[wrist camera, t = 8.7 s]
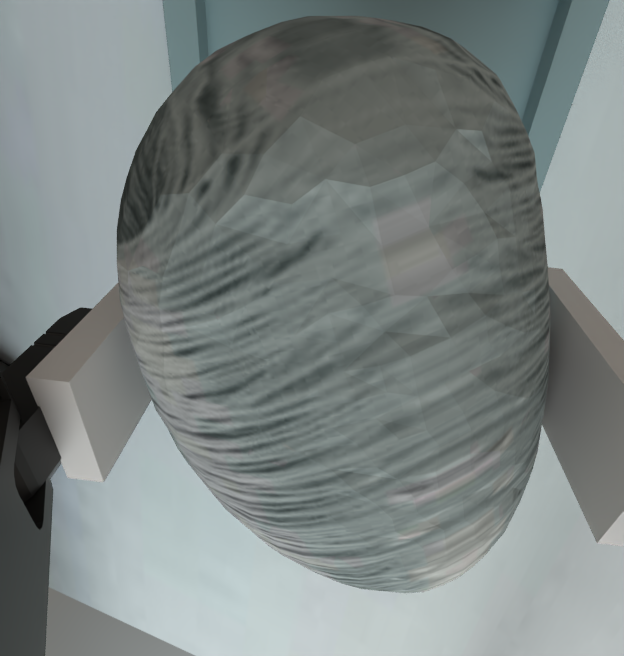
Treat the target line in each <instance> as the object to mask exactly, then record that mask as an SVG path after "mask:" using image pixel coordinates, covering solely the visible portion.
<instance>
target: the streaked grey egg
mask: <svg viewBox="0 0 624 656" xmlns="http://www.w3.org/2000/svg"><path fill="white" fill-rule="evenodd" d="M117 269H118V281H119V293H120V302H121V307H122V311H123V316H124V320H125V324H126V328H127V331H128V334H129V337H130V340H131V343H132V346H133V349H134V352H135V355H136V358H137V361H138V364H139V367H140V369H141V372H142V375H143V378H144V380H145V383H146V386H147V388H148V391H149V393H150V396H151V398H152V401H153V403H154V406H155V409H156V411H157V412H158V414H159V416H160V417H161V419H162V420H163V422H164V423H165V425H166V426H167V428H168V430H169V432H170V434H171V436H172V438H173V440H174V442H175V444H176V446H177V448H178V449H179V451H180V452H181V454H182V455H183V457H184V458H185V460H186V461H187V463H188V464H189V465H190V466H191V468H192V469H193V470H194V471H195V472H196V474H197V475H198V476H199V477H200V479H201V480H202V481H203V482H204V484H205V485H206V486H207V487H208V488H209V490H210V491H211V492H212V493H213V495H214V496H215V497H216V498H217V499H218V501H219V502H220V503H221V504H222V505H223V507H224V508H225V509H226V510H227V511H228V512H230V513H231V514H232V515H233V516H234V517H236V518H237V519H238V520H239V521H240V522H241V523H243V524H244V525H245V526H246V527H247V528H248V529H250V530H251V531H252V532H253V533H254V534H255V535H257V536H258V537H259V538H260V539H261V540H262V541H264V542H265V543H266V544H267V545H268V546H270V547H271V548H273V549H274V550H276V551H277V552H279V553H280V554H282V555H283V556H285V557H287V558H289V559H291V560H293V561H294V562H296V563H298V564H300V565H302V566H304V567H306V568H308V569H310V570H312V571H313V572H315V573H317V574H320V575H322V576H325V577H327V578H330V579H332V580H335V581H337V582H340V583H342V584H346V585H350V586H353V587H357V588H361V589H368V590H378V591H389V592H399V593H416V592H425V591H428V590H431V589H434V588H436V587H439V586H442V585H444V584H446V583H448V582H451V581H453V580H455V579H457V578H458V577H460V576H461V575H463V574H464V573H465V572H467V571H468V570H469V569H471V568H472V567H473V566H474V565H475V564H476V563H477V562H478V561H480V560H481V559H482V558H483V557H484V556H485V555H486V554H487V553H488V551H489V550H490V549H491V547H492V546H493V545H494V544H495V543H496V541H497V540H498V539H499V538H500V537H501V536H502V534H503V533H504V532H505V530H506V528H507V526H508V524H509V522H510V520H511V518H512V516H513V514H514V512H515V510H516V508H517V506H518V505H519V503H520V500H521V498H522V495H523V493H524V490H525V488H526V485H527V483H528V480H529V477H530V475H531V472H532V469H533V466H534V462H535V458H536V455H537V451H538V444H539V438H540V432H541V426H542V421H543V416H544V410H545V403H546V396H547V388H548V378H549V352H550V299H549V280H548V266H547V255H546V245H545V235H544V222H543V209H542V204H541V198H540V193H539V187H538V182H537V173H536V162H535V153H534V150H533V147H532V145H531V142H530V139H529V137H528V134H527V131H526V129H525V127H524V125H523V123H522V121H521V119H520V117H519V114H518V112H517V110H516V108H515V106H514V104H513V102H512V101H511V99H510V97H509V95H508V93H507V91H506V90H505V88H504V86H503V84H502V82H501V80H500V79H499V77H498V76H497V75H496V73H494V72H493V71H492V70H491V69H490V68H488V67H487V66H486V65H485V64H484V63H482V62H481V61H480V60H479V59H477V58H476V57H475V56H474V55H473V54H471V53H470V52H469V51H468V50H467V49H465V48H464V47H463V46H461V45H460V44H458V43H457V42H455V41H454V40H452V39H451V38H449V37H446V36H444V35H442V34H439V33H437V32H434V31H432V30H430V29H427V28H425V27H422V26H417V25H412V24H407V23H403V22H398V21H393V20H387V19H379V18H372V17H364V16H306V17H302V18H297V19H293V20H288V21H284V22H280V23H277V24H275V25H272V26H270V27H267V28H264V29H262V30H259V31H257V32H254V33H252V34H250V35H247V36H245V37H243V38H241V39H239V40H237V41H235V42H233V43H231V44H228V45H226V46H224V47H222V48H220V49H218V50H216V51H215V52H214V53H212V54H211V55H210V56H208V57H207V58H206V59H204V60H203V61H202V62H200V63H199V64H198V65H196V66H195V67H194V68H193V69H192V70H191V71H190V73H189V74H188V75H187V76H186V77H185V78H184V79H183V81H182V82H181V83H180V84H179V85H178V86H177V87H176V88H175V90H174V91H173V92H172V93H171V95H170V96H169V97H168V98H167V100H166V101H165V102H164V103H163V105H162V106H161V107H160V108H159V110H158V111H157V112H156V114H155V116H154V118H153V120H152V121H151V123H150V125H149V127H148V129H147V131H146V133H145V135H144V137H143V138H142V140H141V142H140V144H139V146H138V148H137V150H136V152H135V155H134V158H133V161H132V164H131V167H130V170H129V173H128V176H127V179H126V183H125V187H124V191H123V195H122V198H121V204H120V211H119V218H118V226H117Z"/></svg>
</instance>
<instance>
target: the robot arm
mask: <svg viewBox="0 0 624 656" xmlns="http://www.w3.org/2000/svg"><path fill="white" fill-rule="evenodd" d="M548 280H549V299H550V352H549V378H548V388H547V396H546V403H545V410H544V416H543V421H542V425H543V427H544V429H545V432H546V434H547V436H548V438H549V440H550V442H551V444H552V447H553V449H554V451H555V453H556V455H557V457H558V460H559V462H560V464H561V466H562V468H563V470H564V473H565V475H566V477H567V479H568V481H569V483H570V485H571V488H572V490H573V492H574V494H575V496H576V498H577V501H578V503H579V505H580V507H581V509H582V511H583V514H584V516H585V518H586V520H587V522H588V524H589V526H590V529H591V531H592V533H593V535H594V537H595V539H596V542H597V543H600V544H608V545H616V546H624V340H623V339H622V338H621V337H620V336H619V335H618V333H617V332H616V331H615V330H614V329H613V328H612V326H611V325H610V324H609V323H608V322H607V321H606V319H605V318H604V317H603V316H602V315H601V314H600V312H599V311H598V310H597V309H596V308H595V307H594V305H593V304H592V303H591V302H590V301H589V300H588V298H587V297H586V296H585V295H584V294H583V293H582V291H581V290H580V289H579V288H578V287H577V286H576V284H575V283H574V282H573V281H572V280H571V279H570V277H569V276H568V275H567V274H566V273H565V272H564V270H563V269H558V268H548ZM151 400H152V398H151V396H150V393H149V391H148V388H147V386H146V383H145V380H144V378H143V375H142V372H141V369H140V367H139V364H138V361H137V358H136V355H135V352H134V349H133V346H132V343H131V340H130V337H129V334H128V331H127V328H126V324H125V320H124V316H123V311H122V307H121V302H120V293H119V282H118V283H117V284H116V285H115V287H114V288H113V289H112V290H111V291H110V292H109V293H108V294H107V295H106V296H105V297H104V298H103V299H102V300H101V301H100V302H99V303H98V304H97V305H96V306H95V307H94V308H93V309H90V308H79V309H77V310H75V311H73V312H71V313H69V314H67V315H65V316H63V317H61V318H60V319H59V320H58V321H57V322H55V323H54V324H53V325H52V326H51V327H50V328H49V329H48V330H47V331H46V334H43V335H42V336H41V337H40V338H38V339H37V340H36V341H35V342H34V346H32V345H31V346H30V347H29V348H28V349H27V350H26V351H25V352H24V353H23V354H21V355H20V356H19V357H18V358H17V359H16V360H15V361H14V362H13V363H12V364H11V365H10V366H8V365H6V364H5V363H3V362H1V361H0V656H45V646H46V626H47V605H48V585H49V565H50V544H51V524H52V503H53V487H52V483H51V480H50V479H51V477H52V476H53V474H54V473H55V472H56V470H57V469H58V467H59V466H60V464H61V463H62V465H63V468H64V470H65V472H66V475H67V477H68V478H72V479H80V480H88V481H97V482H104V481H105V480H106V478H107V476H108V474H109V473H110V471H111V469H112V467H113V466H114V464H115V462H116V460H117V459H118V457H119V455H120V454H121V452H122V450H123V448H124V447H125V445H126V443H127V441H128V440H129V438H130V436H131V434H132V433H133V431H134V429H135V427H136V426H137V424H138V422H139V420H140V419H141V417H142V415H143V414H144V412H145V410H146V408H147V407H148V405H149V403H150V401H151Z"/></svg>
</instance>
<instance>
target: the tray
mask: <svg viewBox="0 0 624 656" xmlns="http://www.w3.org/2000/svg"><path fill="white" fill-rule="evenodd" d="M608 3H609V0H163V9H164V18H165V27H166V37H167V46H168V55H169V64H170V74H171V83H172V92H173V91H174V90H175V88H176V87H177V86H178V85H179V84H180V83H181V82H182V81H183V79H184V78H185V77H186V76H187V75H188V74H189V73H190V71H191V70H192V69H193V68H194V67H195V66H196V65H198V64H199V63H200V62H202V61H203V60H204V59H206V58H207V57H208V56H210V55H211V54H212V53H214V52H215V51H216V50H218V49H220V48H222V47H224V46H226V45H228V44H231V43H233V42H235V41H237V40H239V39H241V38H243V37H245V36H247V35H250V34H252V33H254V32H257V31H259V30H262V29H264V28H267V27H270V26H272V25H275V24H277V23H280V22H284V21H288V20H293V19H297V18H302V17H306V16H364V17H372V18H379V19H387V20H393V21H398V22H403V23H407V24H412V25H417V26H422V27H425V28H427V29H430V30H432V31H434V32H437V33H439V34H442V35H444V36H446V37H449V38H451V39H452V40H454V41H455V42H457V43H458V44H460V45H461V46H463V47H464V48H465V49H467V50H468V51H469V52H470V53H471V54H473V55H474V56H475V57H476V58H477V59H479V60H480V61H481V62H482V63H484V64H485V65H486V66H487V67H488V68H490V69H491V70H492V71H493V72H494V73H496V75H497V76H498V77H499V79H500V80H501V82H502V84H503V86H504V88H505V90H506V91H507V93H508V95H509V97H510V99H511V101H512V102H513V104H514V106H515V108H516V110H517V112H518V114H519V117H520V119H521V121H522V123H523V125H524V127H525V129H526V131H527V134H528V137H529V139H530V142H531V145H532V147H533V150H534V153H535V162H536V173H537V182H538V187H539V193H540V190H541V188H542V185H543V182H544V179H545V177H546V174H547V171H548V168H549V166H550V163H551V160H552V157H553V155H554V152H555V149H556V146H557V144H558V141H559V138H560V135H561V133H562V130H563V127H564V124H565V122H566V119H567V116H568V113H569V111H570V108H571V105H572V102H573V99H574V97H575V94H576V91H577V88H578V86H579V83H580V80H581V77H582V75H583V72H584V69H585V66H586V64H587V61H588V58H589V55H590V53H591V50H592V47H593V44H594V42H595V39H596V36H597V33H598V31H599V28H600V25H601V22H602V20H603V17H604V14H605V11H606V9H607V6H608Z"/></svg>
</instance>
